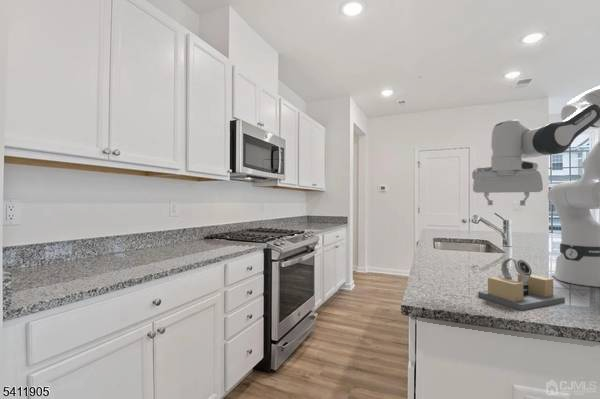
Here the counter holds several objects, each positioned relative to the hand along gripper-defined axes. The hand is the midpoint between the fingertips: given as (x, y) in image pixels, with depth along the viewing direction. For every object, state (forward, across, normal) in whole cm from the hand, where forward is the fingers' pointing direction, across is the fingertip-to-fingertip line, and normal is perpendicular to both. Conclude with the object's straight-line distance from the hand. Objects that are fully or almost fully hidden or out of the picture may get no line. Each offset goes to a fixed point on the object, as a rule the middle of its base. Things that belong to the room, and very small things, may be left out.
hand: (505, 205), depth 105 cm
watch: (+28, +3, -12) cm, 30 cm away
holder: (+29, +4, -12) cm, 32 cm away
